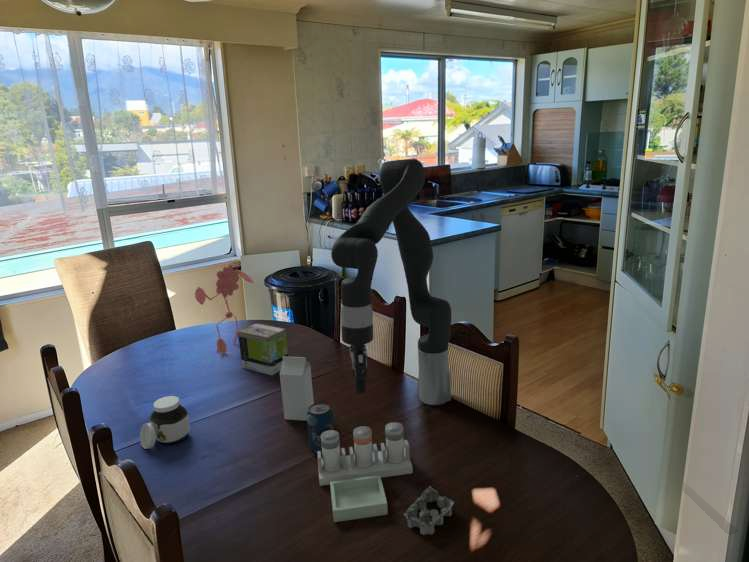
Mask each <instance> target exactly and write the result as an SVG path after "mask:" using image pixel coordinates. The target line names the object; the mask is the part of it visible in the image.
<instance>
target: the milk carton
mask: <svg viewBox="0 0 749 562" xmlns="http://www.w3.org/2000/svg"><path fill="white" fill-rule="evenodd" d="M279 379H280V390H281V397H282V398H281V399H282V407H283V416H284V420H290V421H292V420H293V421H306V422H307V413H308V409H309V407H310V406H311V405H313V404H315V401H314V391H313V382H312V381H313V380H312V370H311V364H310V363H309V362H308V361H307V359H306V357H305V356H288V357H284V356H283V361H282V366H281V370H280V371H279Z"/></svg>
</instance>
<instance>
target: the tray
mask: <svg viewBox="0 0 749 562" xmlns="http://www.w3.org/2000/svg"><path fill="white" fill-rule="evenodd" d="M383 485H384V484H383V482H382V478H381V476H380V475H377V476H369V477H362V478H354V479H347V480H340V481H332V482H330V485H329V486H330V487H329V488H330V495H331V496H330V497H331V505H332V506H331V507H332V508H331V509H332V516H333V523H337V522H345V521H351V520H352V521H353V520H359V519H360V520H361V519H364V518H372V517H378V516H386V515H389V513H388V510H389V509H388V502H387V497H386V494H385V493H386V492H385V488H384V486H383Z"/></svg>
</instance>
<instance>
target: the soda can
mask: <svg viewBox="0 0 749 562" xmlns="http://www.w3.org/2000/svg"><path fill="white" fill-rule="evenodd" d="M306 423H307V424H306V425H307V433H308V445H309V447H310V449H311V450H312V451H313V453H316V454H317V451H321V455H322V446H321V434H322V433H323V432H325V431H328V430H334V431H335V425H334V415H333V410H332V409H331V407H330V405H329V404H328V403H325V402H317V403H314V404H313V405H311V406H310V407H309V409H308V413H307V421H306Z"/></svg>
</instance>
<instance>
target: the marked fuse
mask: <svg viewBox="0 0 749 562" xmlns="http://www.w3.org/2000/svg"><path fill="white" fill-rule="evenodd" d="M352 432H353V435H352V436H353V439H352V440H353V444H354V445H353V447H354V449H353V450H354V454H355V464H356V466H357V467H359V468H368V467H370V466H372V464H373V454H372V452H373V436H372V435H373V434H372V429H371V428H370V427H369V426H365V425H364V426H363V425H362V426H358V427H356V428H354V429H353V430H352Z"/></svg>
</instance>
